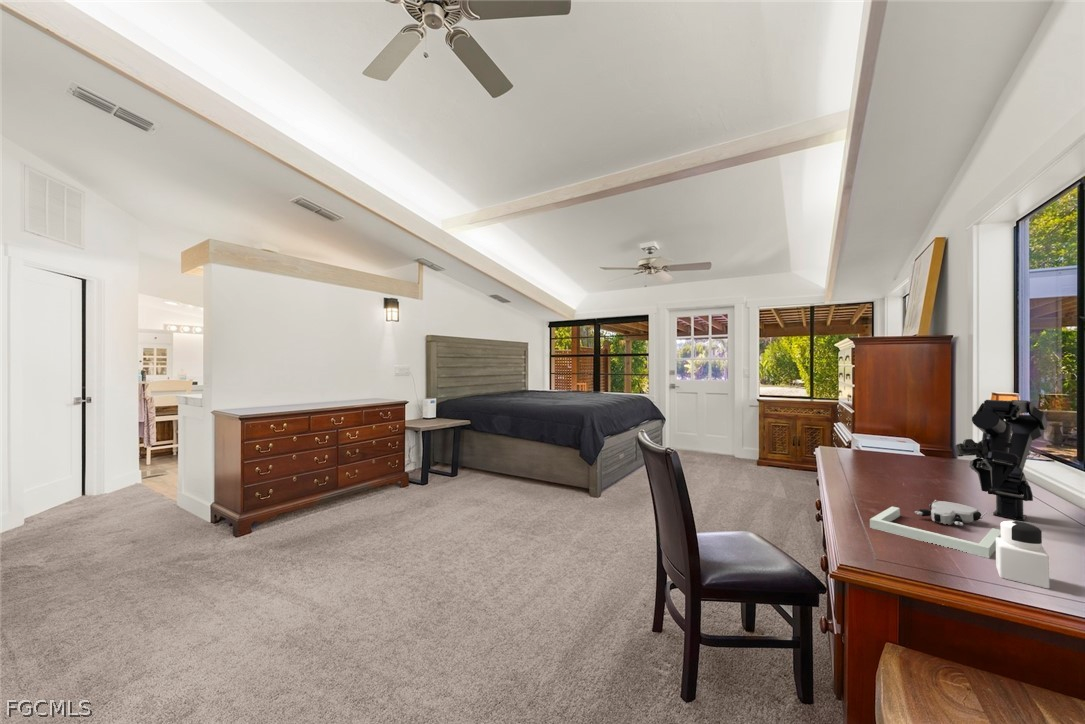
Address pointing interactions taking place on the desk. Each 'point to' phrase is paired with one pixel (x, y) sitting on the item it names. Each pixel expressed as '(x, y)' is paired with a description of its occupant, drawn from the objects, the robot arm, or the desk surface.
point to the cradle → (934, 534)
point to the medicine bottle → (1022, 554)
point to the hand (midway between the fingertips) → (989, 489)
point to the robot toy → (951, 513)
